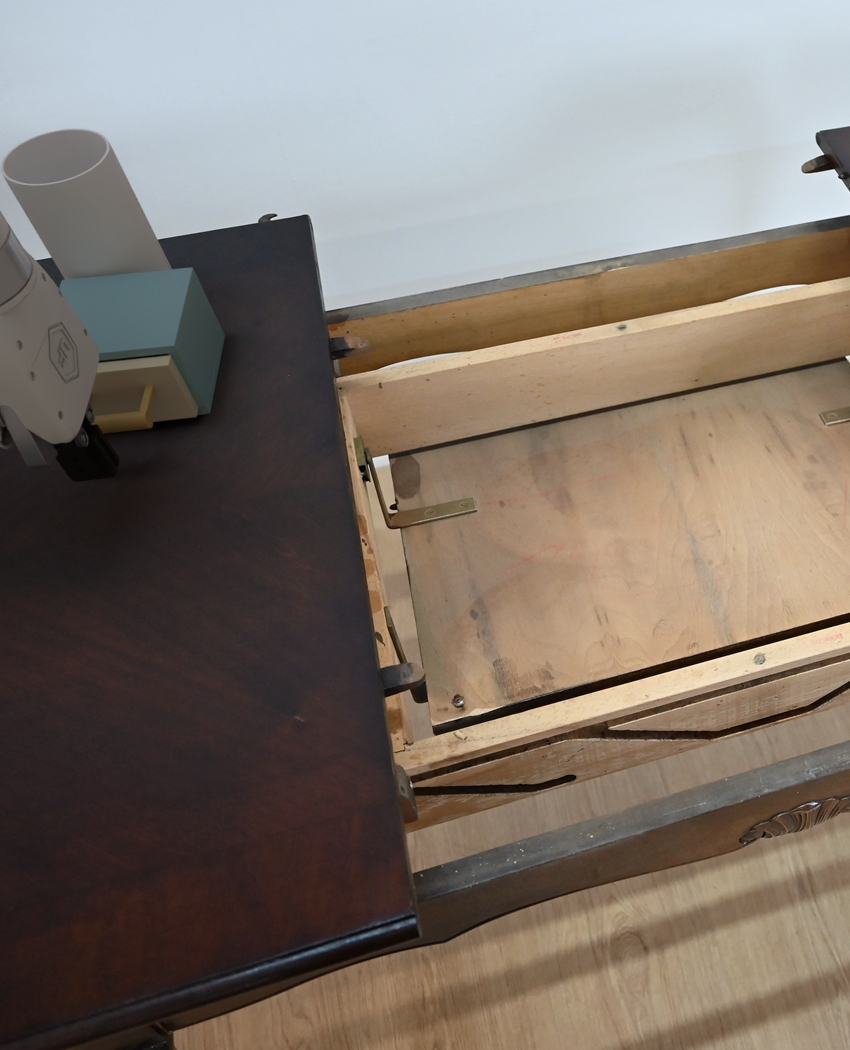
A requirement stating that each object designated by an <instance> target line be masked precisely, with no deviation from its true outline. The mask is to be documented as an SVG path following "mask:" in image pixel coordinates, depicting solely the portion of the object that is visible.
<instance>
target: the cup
mask: <svg viewBox="0 0 850 1050" xmlns="http://www.w3.org/2000/svg"><path fill="white" fill-rule="evenodd" d="M0 171H1V174H2V176H3V178H4V180H5V182H6V183H7V186H8V187H9V189H10V190H11V192H12V194H13V195H14V197H15V199H16V201H17V202H18V204H19V205H20V207H21V209H22V210H23V212H24V214H25V215H26V217H27V219H28V221H29V222H30V224H31V225H32V227H33V229H34V230H35V232H36V234H37V235H38V237H39V239H40V240H41V242H42V244H43V245H44V247H45V249H46V251H47V252H48V254H49V255H50V257H51V259H52V261H53V262H54V264H55V266H56V268H57V269H58V271H59V272H60V274H61V276H62V277H63V280H66V279H77V278H87V277H97V276H108V275H118V274H128V273H139V272H149V271H159V270H170V269H173V268H172V265H171V264H170V262H169V260H168V257H167V255H166V253H165V252H164V250H163V247H162V246H161V244H160V242H159V239H158V237H157V236H156V233H155V232H154V230H153V227H152V225H151V223H150V222H149V219H148V218H147V216H146V213H145V211H144V209H143V207H142V205H141V203H140V201H139V199H138V196H137V195H136V193H135V191H134V189H133V186H132V185H131V183H130V181H129V179H128V177H127V175H126V173H125V171H124V169H123V166H122V165H121V163H120V160H119V159H118V157H117V154H116V152H115V151H114V149H113V147H112V144H111V143H110V141H109V140H108V138H107V137H106V136H105V135H104V134H102V133H100V132H98V131H95V130H91V129H85V128H64V129H57V130H52V131H48V132H44V133H41V134H37V135H35V136H33V137H30V138H28V139H26V140H24V141H22V142H20V143H18V144H17V145H16V146H15V147H13V148H12V149H10V151H8V153H6V154H5V156H4V157H3V159H2V161H1V163H0Z"/></svg>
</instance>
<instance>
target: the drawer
mask: <svg viewBox="0 0 850 1050" xmlns="http://www.w3.org/2000/svg"><path fill="white" fill-rule="evenodd" d="M159 355H160V356H158V357H149V358H139V359H130V360H120V361H111V362H101V363H98V368H97V373H96V376H95V380H94V384H93V388H92V391H91V395H90V398H89V403H90V405H91V407H92V409H93V411H94V414H95V422H94V423H91V425H95V424H98V426H99V427H100V429H101V430H102V432H103V434H104V435H105V434H111V433H121V432H130V431H131V432H132V431H138V430H139V431H140V430H148V429H152V428H153V427H154V422H155V423H156V422H163V421H164V422H165V421H173V420H183V419H190V418H191V419H192V418H197V417H198V415H197V412H198V405H197V403H196V402H195V400H194V398H193V396H192V394H191V392H190V390H189V389H188V387H187V385H186V383H185V381H184V379H183V377H182V375H181V374H180V372H179V370H178V368H177V366H176V364H175V362H174V361H173V359H172V357H171V355H168V354H159Z"/></svg>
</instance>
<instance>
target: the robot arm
mask: <svg viewBox="0 0 850 1050" xmlns="http://www.w3.org/2000/svg"><path fill="white" fill-rule="evenodd" d="M98 363H99V351H98V347H97V345H96V343H95V342H94V340H93V338H92V337H91V335H90V333H89V332H88V330H87V329H86V327H85V326H84V324H83V323H82V321H81V319H80V318H79V316H78V315H77V314H76V312H75V311H74V309H73V308H72V306H71V305H70V303H69V302H68V301H67V299H66V298H65V296H64V295H63V294H62V292H61V291H60V290H59V287H58V285H57V284H56V283H55V281H54V280H53V278H51V276H50V275H49V274H48V273H47V271H46V270H45V269H44V268H43V267H42V265H41V264H40V263H39V261H37V260H36V259H35V258H34V257H33V256H32V254H30V253H29V252H28V251H27V250H26V249H25V248H24V246H23V245H22V244H21V241H20V240H19V239H18V237H17V235H16V234H15V232H14V230H13V228H12V227H11V225H10V224H9V222H8V220H7V219H6V217H5V215H4V214H3V213H2V211H1V210H0V448H1V449H4V450H6V451H9V450H11V449H12V448H14V446H16V448H17V449H18V452H19V453H20V455H21V457H22V459H23V461H24V463H25V464H26V466H27V468H28V469H30V470H33V469H41V468H50V467H52V465H53V464H54V462H55V461H56V462H57V463H58V464H59V465H60V467H61V468H62V470H63V471H64V472H65V474H66V475H67V476H68V478H69V479H70V481H72V482H75V483H80V482H88V481H89V482H90V481H96V480H105V479H110V478H111V479H112V478H115V477H116V476H117V473H118V466H119V465H120V460H121V459H120V456H119V455H118V453H117V452H116V450H115V449H114V447H113V446H112V444H111V443H110V441H109V439H108V438H107V437H106V435H105V433H104V434H103V432H102V430H101V429H100V427H99V426H98V424H95V425H91V423H94V422H95V414H94V411H93V409H92V407H91V405H90V403H89V398H90V395H91V391H92V388H93V384H94V380H95V376H96V373H97V368H98Z"/></svg>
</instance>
